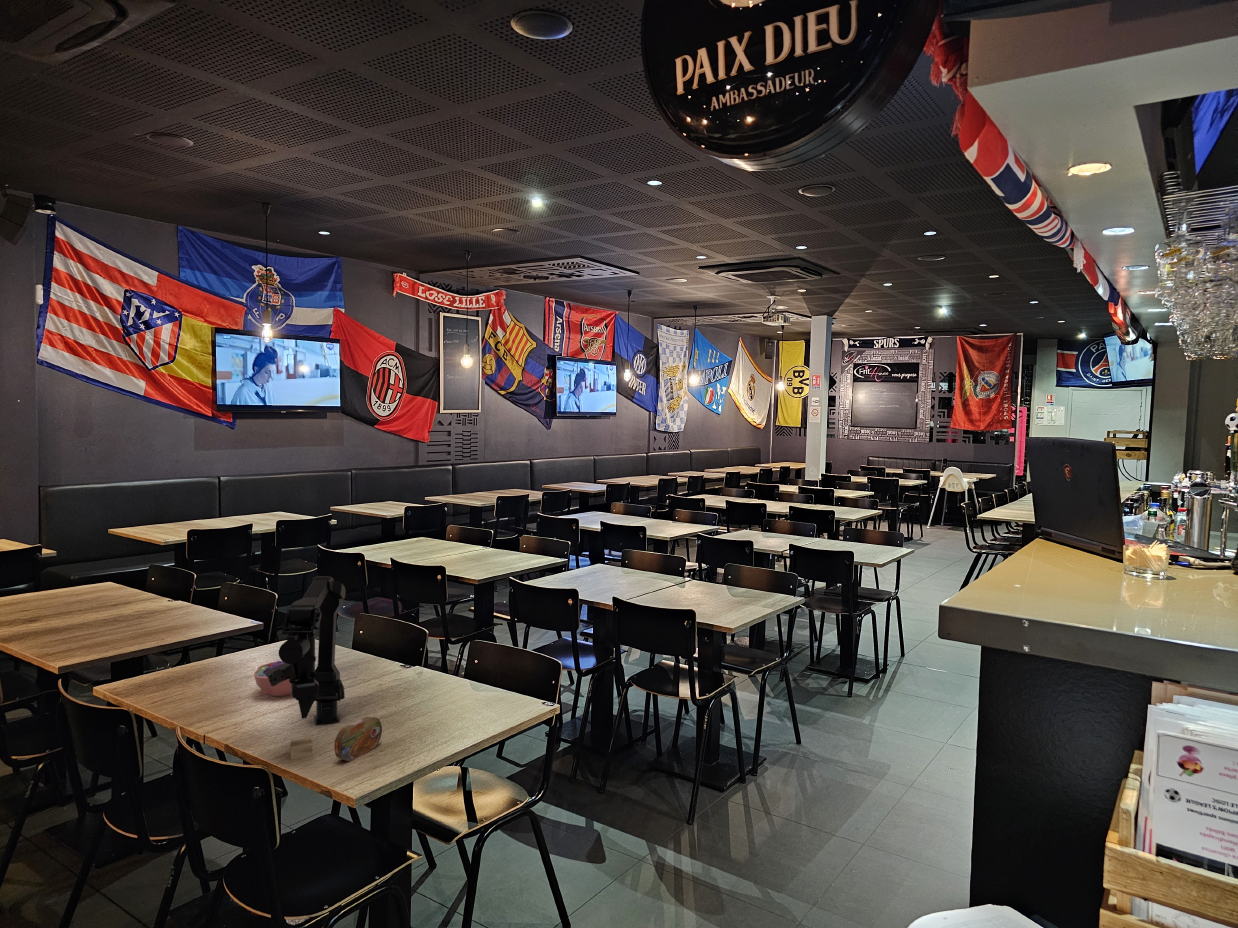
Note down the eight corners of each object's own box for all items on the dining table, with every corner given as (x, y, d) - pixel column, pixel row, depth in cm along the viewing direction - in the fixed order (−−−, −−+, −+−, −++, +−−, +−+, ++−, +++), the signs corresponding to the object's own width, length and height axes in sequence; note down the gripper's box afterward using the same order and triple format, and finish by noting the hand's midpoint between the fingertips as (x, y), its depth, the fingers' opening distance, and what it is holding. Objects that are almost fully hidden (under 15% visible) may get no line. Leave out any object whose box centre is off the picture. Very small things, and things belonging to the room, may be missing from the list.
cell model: (324, 684, 246) (324, 650, 246) (292, 705, 226) (292, 668, 226) (276, 682, 248) (276, 648, 248) (240, 702, 228) (240, 666, 228)
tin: (341, 766, 185) (341, 732, 184) (331, 763, 186) (331, 730, 186) (382, 744, 198) (383, 713, 198) (373, 742, 200) (373, 711, 199)
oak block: (290, 752, 192) (290, 740, 192) (310, 749, 195) (311, 737, 195) (291, 760, 188) (291, 747, 188) (312, 756, 190) (312, 744, 190)
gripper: (267, 646, 196) (267, 704, 196) (269, 666, 179) (269, 729, 179) (312, 642, 201) (312, 698, 201) (319, 660, 184) (319, 722, 184)
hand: (302, 712), depth 191 cm, fingers open, 9 cm apart
